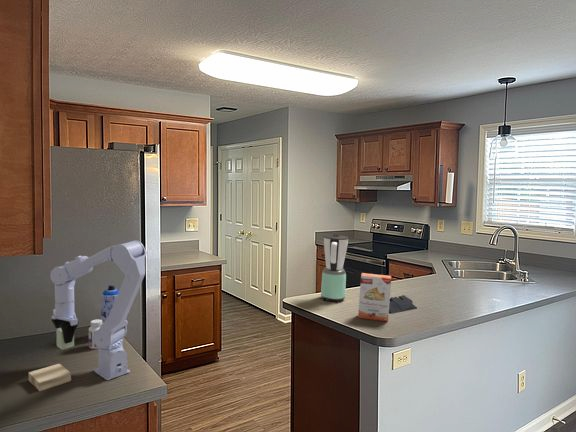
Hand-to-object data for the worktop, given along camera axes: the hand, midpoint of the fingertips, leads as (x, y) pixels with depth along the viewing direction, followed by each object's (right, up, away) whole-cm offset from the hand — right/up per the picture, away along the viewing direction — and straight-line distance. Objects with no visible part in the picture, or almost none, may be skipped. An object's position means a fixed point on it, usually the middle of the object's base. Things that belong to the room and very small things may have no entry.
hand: (65, 340), depth 144 cm
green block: (0, -2, 0) cm, 2 cm away
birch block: (+1, -10, -10) cm, 14 cm away
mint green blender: (+99, -4, +87) cm, 132 cm away
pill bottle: (+3, -7, +16) cm, 18 cm away
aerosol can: (+4, -6, +27) cm, 28 cm away
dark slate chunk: (+130, -6, +79) cm, 153 cm away
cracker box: (+115, -7, +60) cm, 130 cm away
